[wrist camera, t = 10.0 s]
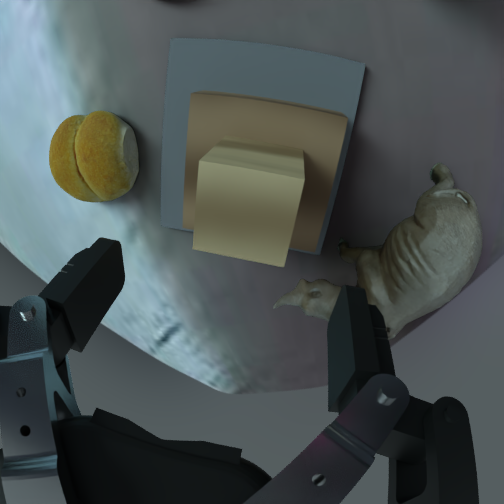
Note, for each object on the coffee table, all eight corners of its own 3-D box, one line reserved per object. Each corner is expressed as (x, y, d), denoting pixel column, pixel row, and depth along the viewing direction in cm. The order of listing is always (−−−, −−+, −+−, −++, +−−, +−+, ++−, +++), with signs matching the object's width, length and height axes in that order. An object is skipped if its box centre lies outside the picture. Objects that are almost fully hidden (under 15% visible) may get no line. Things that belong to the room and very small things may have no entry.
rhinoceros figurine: (508, 222, 20) (476, 385, 14) (392, 247, 32) (326, 366, 25) (474, 143, 18) (436, 301, 12) (353, 190, 30) (268, 307, 24)
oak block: (225, 135, 19) (199, 160, 14) (303, 149, 19) (304, 179, 14) (217, 204, 22) (192, 249, 17) (288, 218, 22) (283, 267, 17)
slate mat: (173, 38, 19) (170, 38, 19) (363, 64, 19) (365, 64, 18) (163, 222, 28) (160, 226, 27) (319, 251, 27) (319, 255, 27)
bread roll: (56, 119, 24) (29, 129, 20) (135, 103, 22) (109, 111, 19) (72, 197, 28) (48, 215, 25) (147, 195, 27) (126, 215, 24)
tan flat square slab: (203, 90, 21) (190, 93, 18) (341, 112, 20) (348, 118, 18) (193, 211, 26) (182, 228, 24) (313, 232, 26) (314, 252, 23)
